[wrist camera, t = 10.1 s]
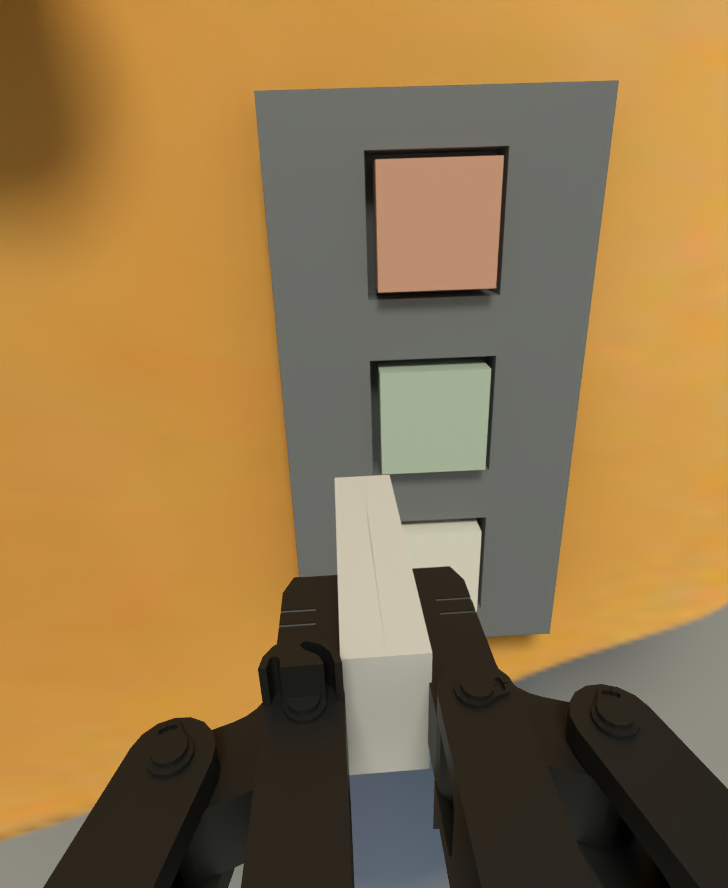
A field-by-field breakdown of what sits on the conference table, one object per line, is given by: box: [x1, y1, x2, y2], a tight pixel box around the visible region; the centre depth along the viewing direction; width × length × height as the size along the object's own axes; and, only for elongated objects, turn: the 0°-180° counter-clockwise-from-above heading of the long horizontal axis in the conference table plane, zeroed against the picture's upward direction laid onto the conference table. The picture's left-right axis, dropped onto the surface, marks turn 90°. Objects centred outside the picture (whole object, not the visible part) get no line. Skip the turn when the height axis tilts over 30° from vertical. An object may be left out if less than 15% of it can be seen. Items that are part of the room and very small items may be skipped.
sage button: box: [377, 357, 491, 475], centre depth 26 cm, size 5×5×2 cm
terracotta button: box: [372, 155, 504, 293], centre depth 23 cm, size 5×5×2 cm
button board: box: [254, 81, 619, 637], centre depth 27 cm, size 14×27×2 cm, turn 2°
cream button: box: [401, 518, 482, 611], centre depth 30 cm, size 5×5×2 cm
